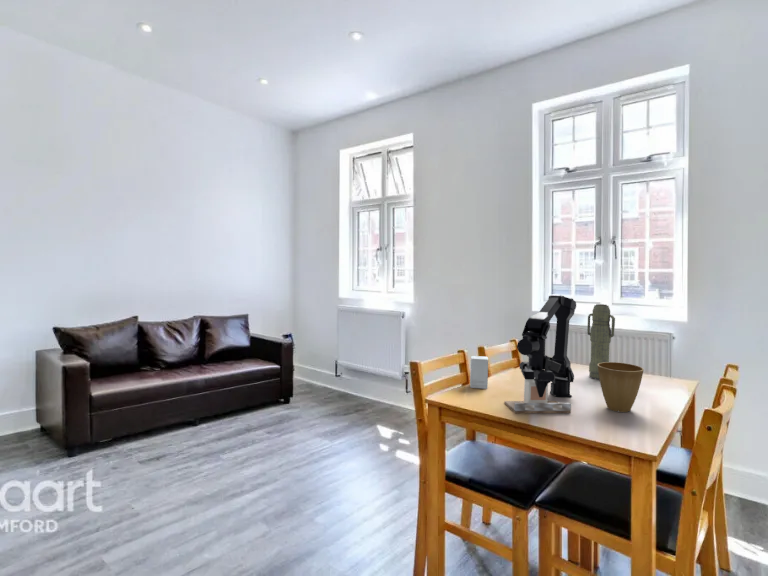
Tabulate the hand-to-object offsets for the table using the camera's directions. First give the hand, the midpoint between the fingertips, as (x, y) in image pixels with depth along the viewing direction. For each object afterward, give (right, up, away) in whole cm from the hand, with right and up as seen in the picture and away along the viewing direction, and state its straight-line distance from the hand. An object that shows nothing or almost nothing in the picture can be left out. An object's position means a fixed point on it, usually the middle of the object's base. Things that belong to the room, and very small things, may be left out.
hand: (535, 393), depth 165 cm
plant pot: (+30, -6, -1) cm, 31 cm away
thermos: (+47, -4, +49) cm, 68 cm away
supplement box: (-15, -4, +29) cm, 33 cm away
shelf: (0, -5, -1) cm, 5 cm away
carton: (0, -4, 0) cm, 4 cm away
